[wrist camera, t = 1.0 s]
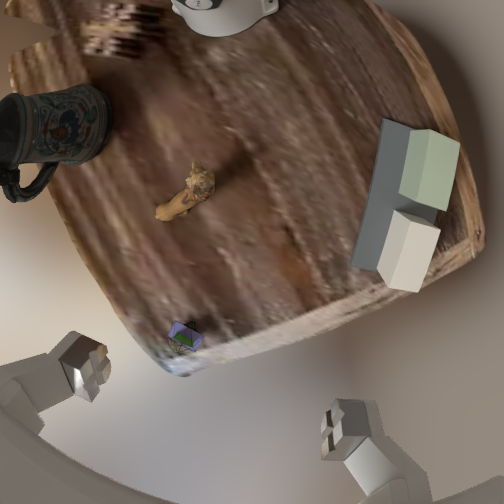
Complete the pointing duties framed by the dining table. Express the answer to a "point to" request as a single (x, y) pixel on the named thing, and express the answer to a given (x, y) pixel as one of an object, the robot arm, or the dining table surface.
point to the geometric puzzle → (184, 337)
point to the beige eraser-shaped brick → (407, 251)
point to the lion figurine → (189, 193)
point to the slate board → (386, 196)
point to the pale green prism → (429, 168)
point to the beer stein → (50, 134)
